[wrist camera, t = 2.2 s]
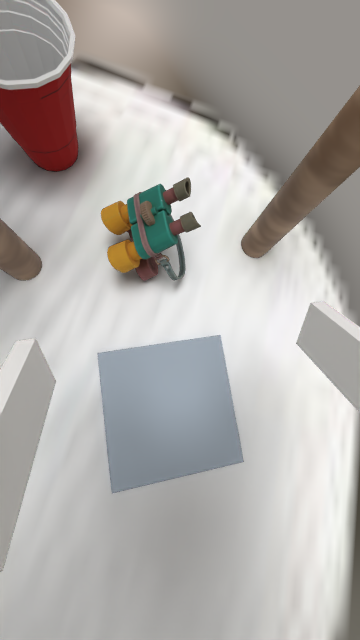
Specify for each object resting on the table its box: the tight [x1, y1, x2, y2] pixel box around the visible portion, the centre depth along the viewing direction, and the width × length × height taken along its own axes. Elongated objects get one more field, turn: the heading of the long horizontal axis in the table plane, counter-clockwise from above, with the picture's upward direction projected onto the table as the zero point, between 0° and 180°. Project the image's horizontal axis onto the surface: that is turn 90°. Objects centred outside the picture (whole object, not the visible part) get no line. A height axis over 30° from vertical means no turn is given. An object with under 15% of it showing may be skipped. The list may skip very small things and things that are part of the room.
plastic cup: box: [0, 0, 78, 172], centre depth 24 cm, size 11×11×12 cm
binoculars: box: [101, 178, 201, 281], centre depth 25 cm, size 9×9×10 cm
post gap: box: [0, 86, 360, 280], centre depth 16 cm, size 4×32×26 cm, turn 99°
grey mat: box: [98, 335, 244, 493], centre depth 26 cm, size 14×14×1 cm
